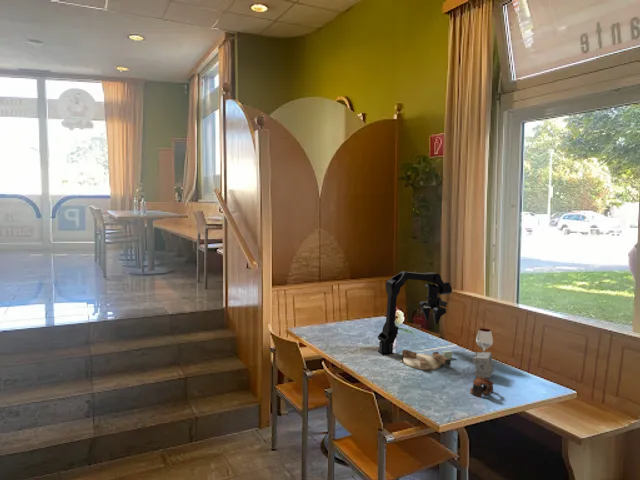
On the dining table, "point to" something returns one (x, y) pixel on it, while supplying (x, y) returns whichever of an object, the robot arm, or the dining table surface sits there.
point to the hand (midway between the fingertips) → (431, 322)
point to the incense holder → (483, 364)
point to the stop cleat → (447, 354)
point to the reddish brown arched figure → (479, 389)
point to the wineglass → (484, 338)
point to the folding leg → (441, 359)
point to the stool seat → (420, 360)
